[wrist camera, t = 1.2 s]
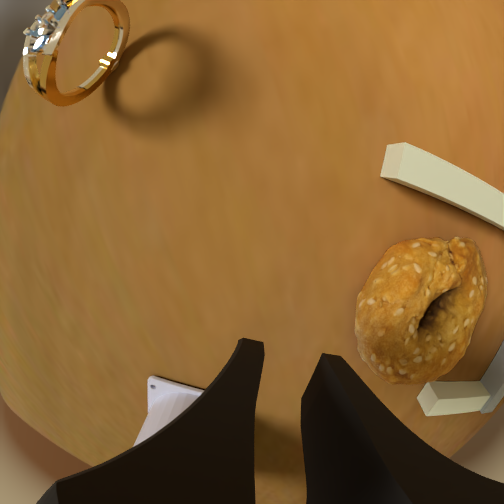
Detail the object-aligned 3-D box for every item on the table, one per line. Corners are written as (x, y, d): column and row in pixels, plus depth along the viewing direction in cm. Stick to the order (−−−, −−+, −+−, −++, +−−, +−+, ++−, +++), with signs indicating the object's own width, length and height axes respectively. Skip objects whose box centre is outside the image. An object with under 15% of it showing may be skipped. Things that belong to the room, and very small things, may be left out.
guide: (480, 394, 20) (491, 411, 17) (304, 389, 20) (307, 417, 17) (552, 236, 15) (572, 244, 12) (387, 145, 15) (409, 141, 12)
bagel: (483, 304, 17) (515, 332, 13) (375, 378, 20) (393, 420, 15) (453, 195, 15) (498, 207, 11) (320, 282, 18) (336, 320, 13)
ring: (128, 19, 13) (65, -33, 5) (160, 30, 13) (100, -30, 6) (73, 101, 15) (-11, 85, 7) (101, 118, 15) (13, 103, 8)
